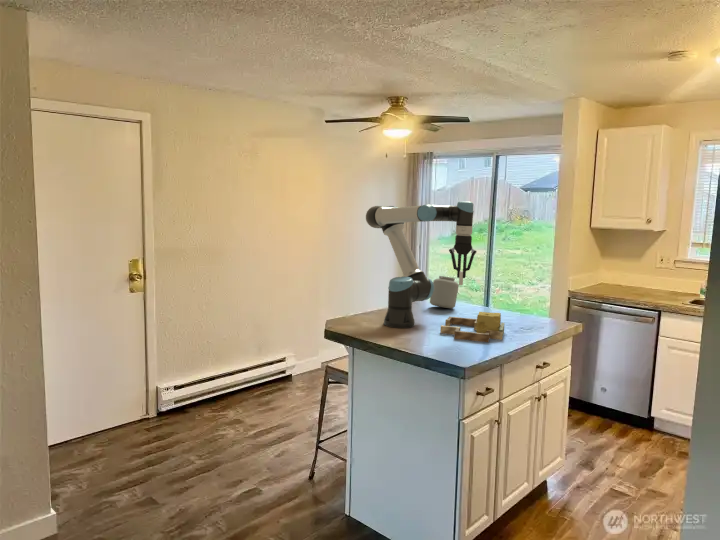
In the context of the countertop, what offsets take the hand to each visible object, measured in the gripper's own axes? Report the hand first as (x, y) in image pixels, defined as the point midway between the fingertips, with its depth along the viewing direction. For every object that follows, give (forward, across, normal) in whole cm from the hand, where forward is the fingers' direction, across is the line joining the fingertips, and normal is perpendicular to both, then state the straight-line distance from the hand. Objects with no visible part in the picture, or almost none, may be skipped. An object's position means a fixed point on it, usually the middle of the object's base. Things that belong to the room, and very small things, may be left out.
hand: (460, 284), depth 253 cm
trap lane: (+22, +7, 0) cm, 23 cm away
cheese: (+23, +14, -1) cm, 27 cm away
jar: (+23, -15, +55) cm, 61 cm away
